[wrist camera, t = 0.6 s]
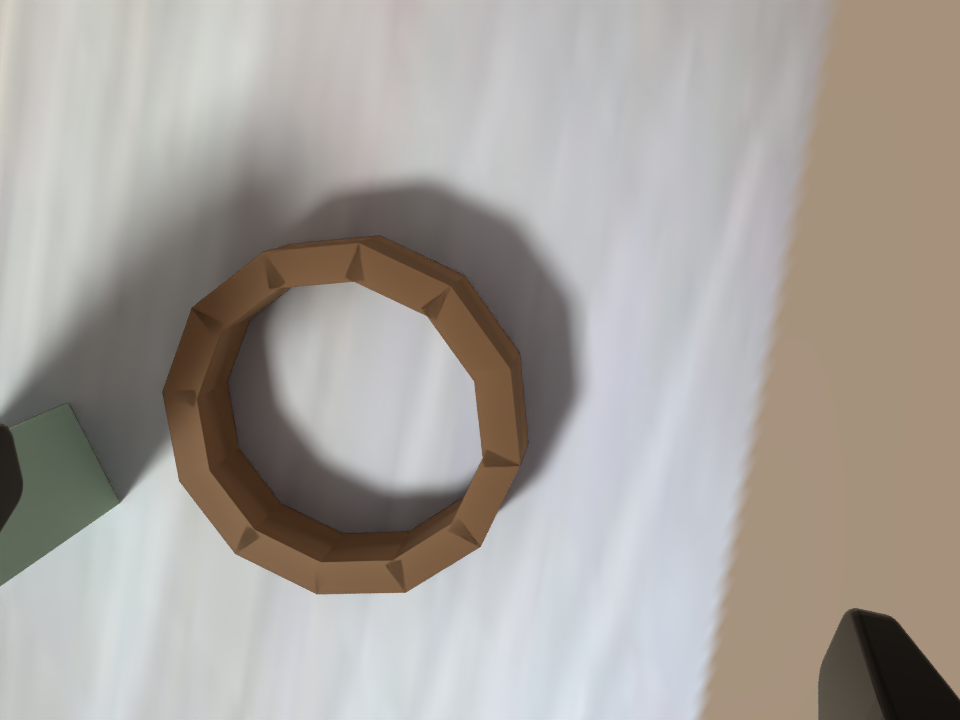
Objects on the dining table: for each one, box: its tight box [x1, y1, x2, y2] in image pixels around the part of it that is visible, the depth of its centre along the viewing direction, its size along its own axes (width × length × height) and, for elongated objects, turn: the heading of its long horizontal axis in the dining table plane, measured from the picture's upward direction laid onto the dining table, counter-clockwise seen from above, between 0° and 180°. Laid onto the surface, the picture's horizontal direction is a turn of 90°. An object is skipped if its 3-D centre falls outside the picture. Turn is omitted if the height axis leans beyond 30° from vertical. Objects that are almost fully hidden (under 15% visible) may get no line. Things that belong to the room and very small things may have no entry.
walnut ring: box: [163, 236, 529, 594], centre depth 26 cm, size 10×10×2 cm
